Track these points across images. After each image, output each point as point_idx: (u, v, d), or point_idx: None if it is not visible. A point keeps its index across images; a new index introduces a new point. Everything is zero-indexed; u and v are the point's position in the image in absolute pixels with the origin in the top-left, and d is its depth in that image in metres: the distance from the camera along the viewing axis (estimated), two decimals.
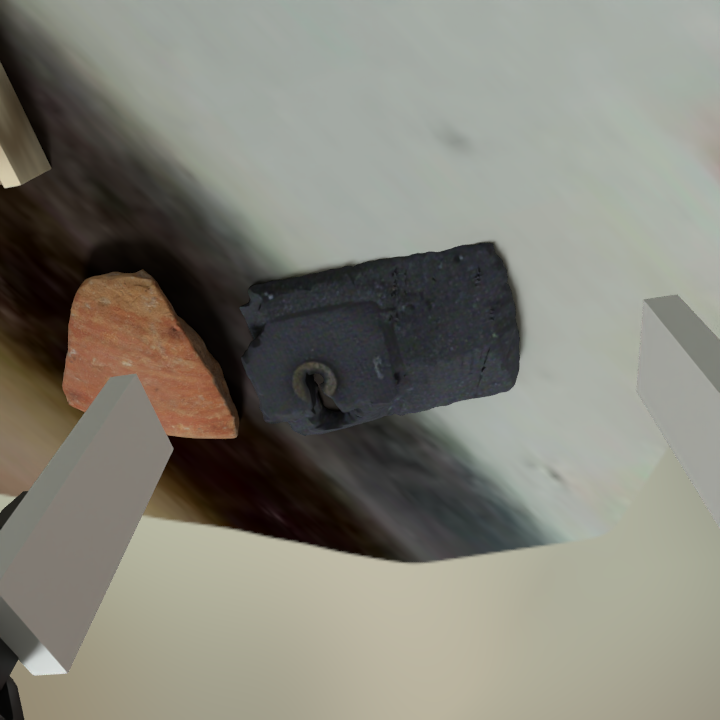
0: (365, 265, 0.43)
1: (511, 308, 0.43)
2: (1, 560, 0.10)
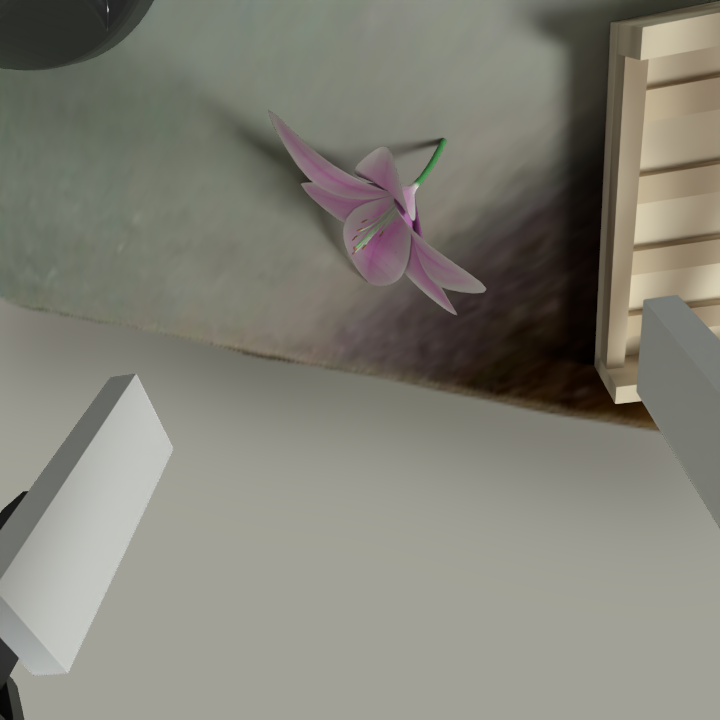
0: None
1: None
2: (1, 560, 0.10)
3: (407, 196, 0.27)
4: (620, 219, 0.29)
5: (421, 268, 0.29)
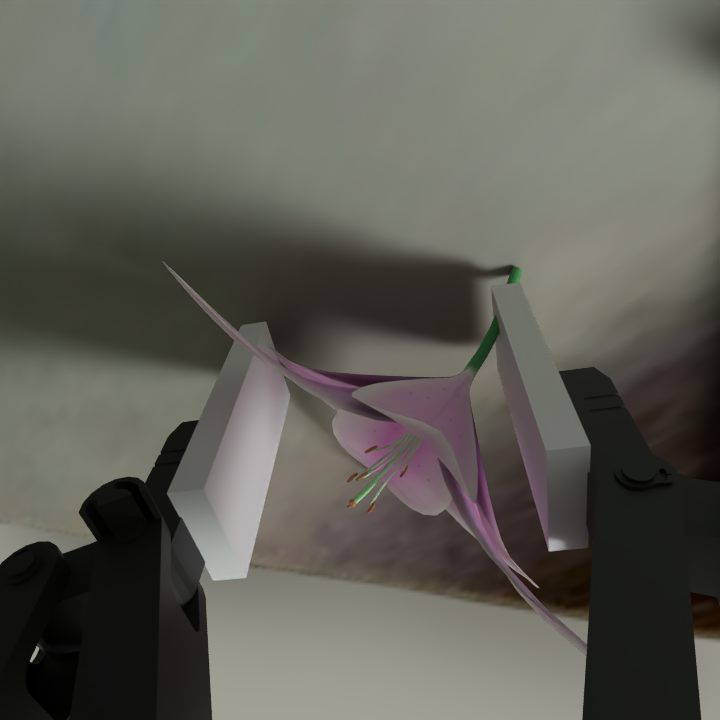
0: None
1: None
2: (199, 468, 0.11)
3: (457, 410, 0.13)
4: None
5: None
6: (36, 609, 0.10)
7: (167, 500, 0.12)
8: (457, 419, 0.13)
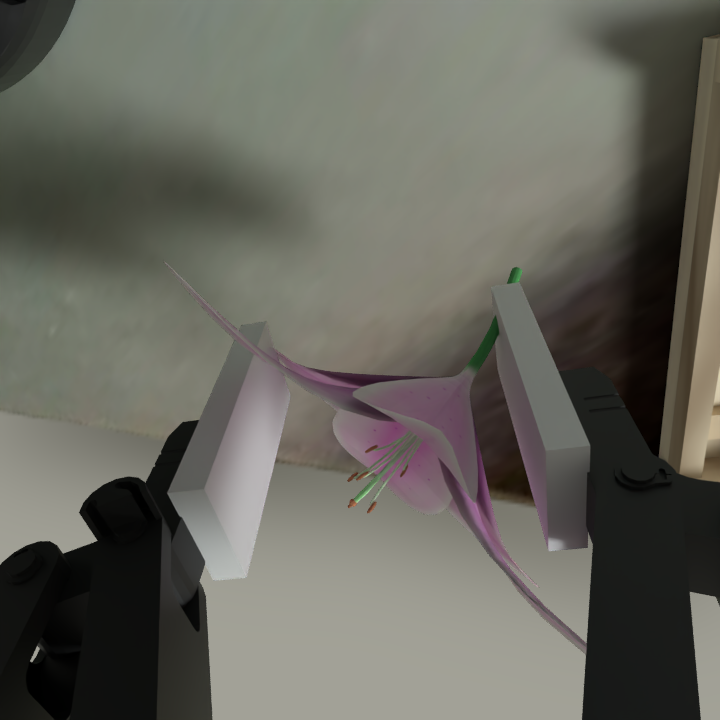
0: None
1: None
2: (199, 468, 0.11)
3: (457, 409, 0.13)
4: (709, 300, 0.21)
5: None
6: (36, 609, 0.10)
7: (167, 500, 0.12)
8: (457, 419, 0.13)
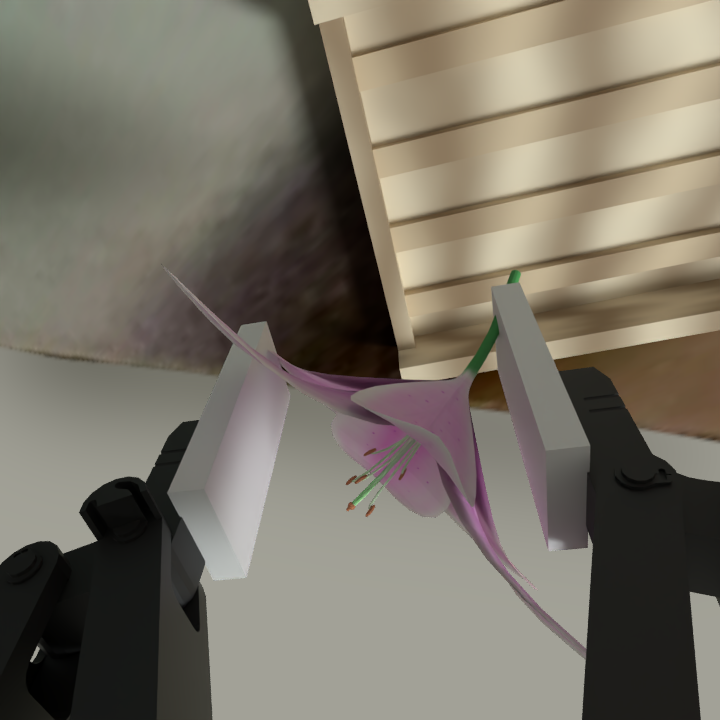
0: None
1: None
2: (199, 468, 0.11)
3: (456, 413, 0.13)
4: (365, 194, 0.28)
5: None
6: (36, 609, 0.10)
7: (167, 500, 0.12)
8: (456, 422, 0.13)
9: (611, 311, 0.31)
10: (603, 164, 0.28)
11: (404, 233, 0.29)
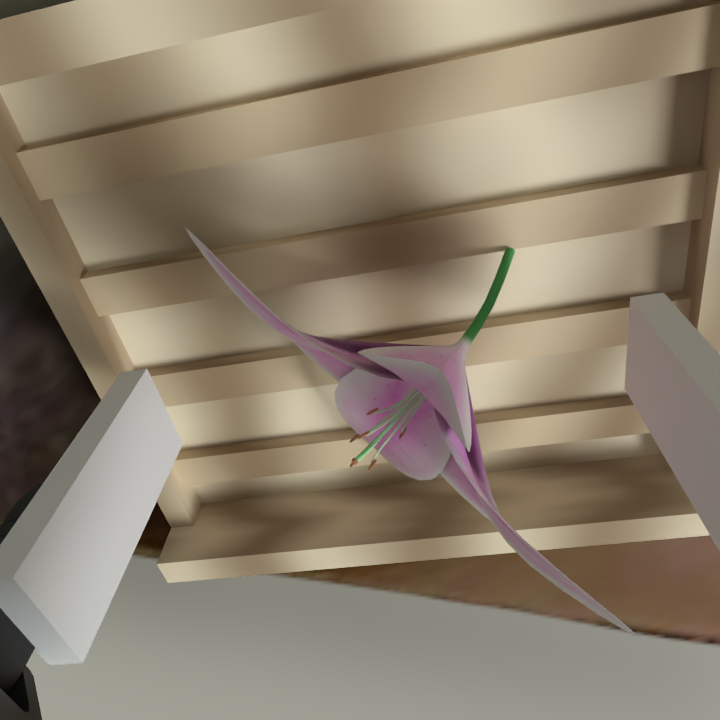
0: None
1: None
2: (18, 550, 0.10)
3: (453, 374, 0.14)
4: (75, 340, 0.19)
5: (470, 480, 0.16)
6: None
7: None
8: (453, 382, 0.14)
9: (453, 499, 0.22)
10: (425, 312, 0.19)
11: None
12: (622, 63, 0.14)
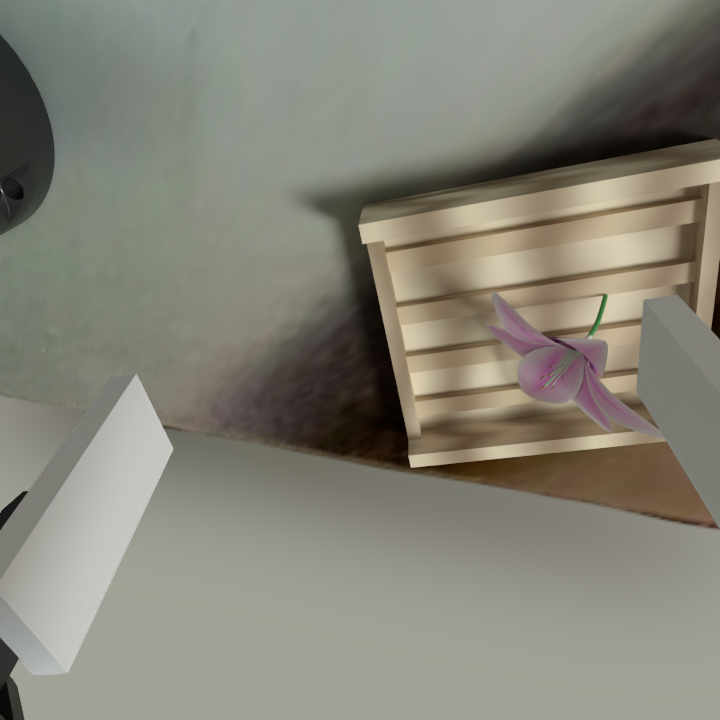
0: None
1: None
2: (1, 560, 0.10)
3: None
4: (390, 336, 0.39)
5: (589, 399, 0.36)
6: None
7: None
8: None
9: (566, 422, 0.42)
10: (559, 323, 0.39)
11: (416, 361, 0.41)
12: (658, 220, 0.34)
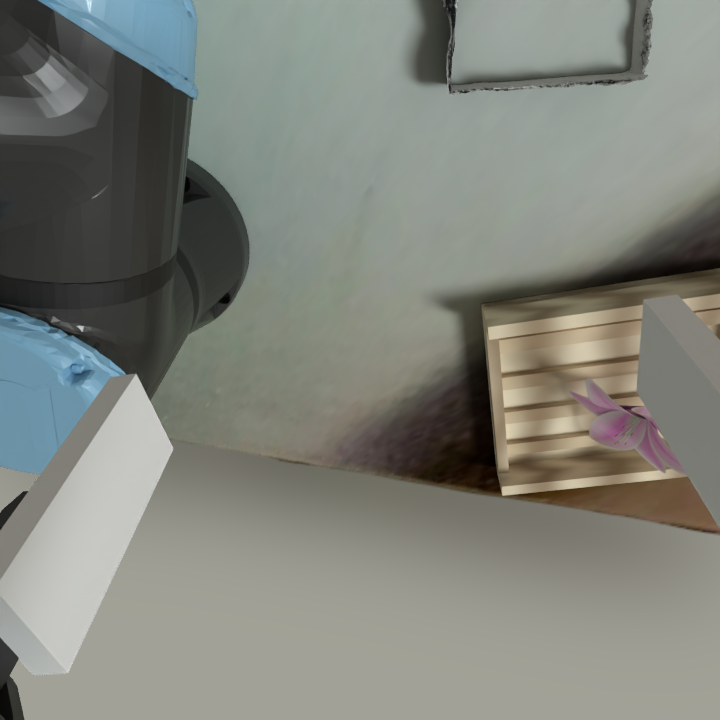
0: None
1: None
2: (1, 560, 0.10)
3: None
4: (494, 399, 0.52)
5: (649, 449, 0.49)
6: None
7: None
8: None
9: (623, 460, 0.55)
10: (622, 388, 0.52)
11: (511, 415, 0.53)
12: (702, 320, 0.47)
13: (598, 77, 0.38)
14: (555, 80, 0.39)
